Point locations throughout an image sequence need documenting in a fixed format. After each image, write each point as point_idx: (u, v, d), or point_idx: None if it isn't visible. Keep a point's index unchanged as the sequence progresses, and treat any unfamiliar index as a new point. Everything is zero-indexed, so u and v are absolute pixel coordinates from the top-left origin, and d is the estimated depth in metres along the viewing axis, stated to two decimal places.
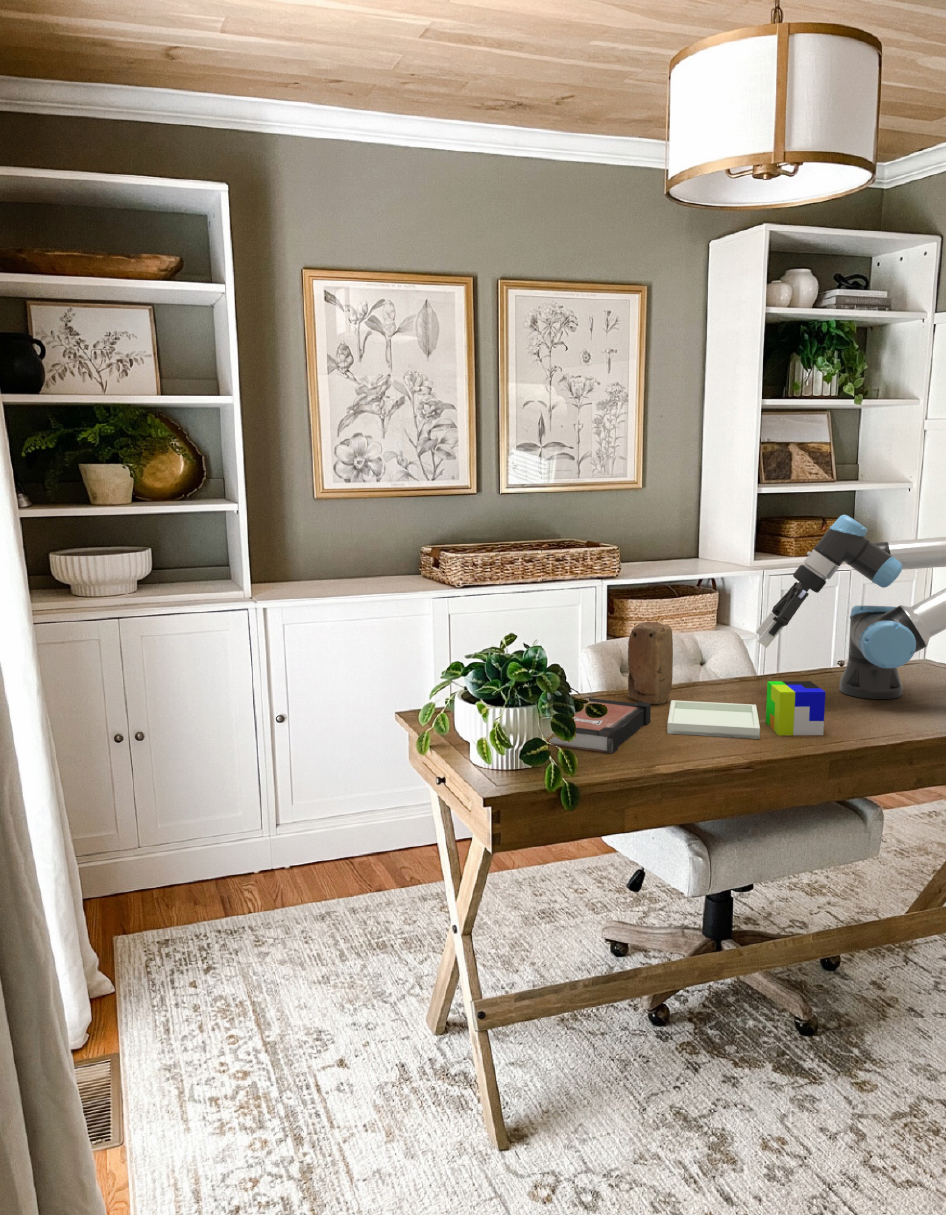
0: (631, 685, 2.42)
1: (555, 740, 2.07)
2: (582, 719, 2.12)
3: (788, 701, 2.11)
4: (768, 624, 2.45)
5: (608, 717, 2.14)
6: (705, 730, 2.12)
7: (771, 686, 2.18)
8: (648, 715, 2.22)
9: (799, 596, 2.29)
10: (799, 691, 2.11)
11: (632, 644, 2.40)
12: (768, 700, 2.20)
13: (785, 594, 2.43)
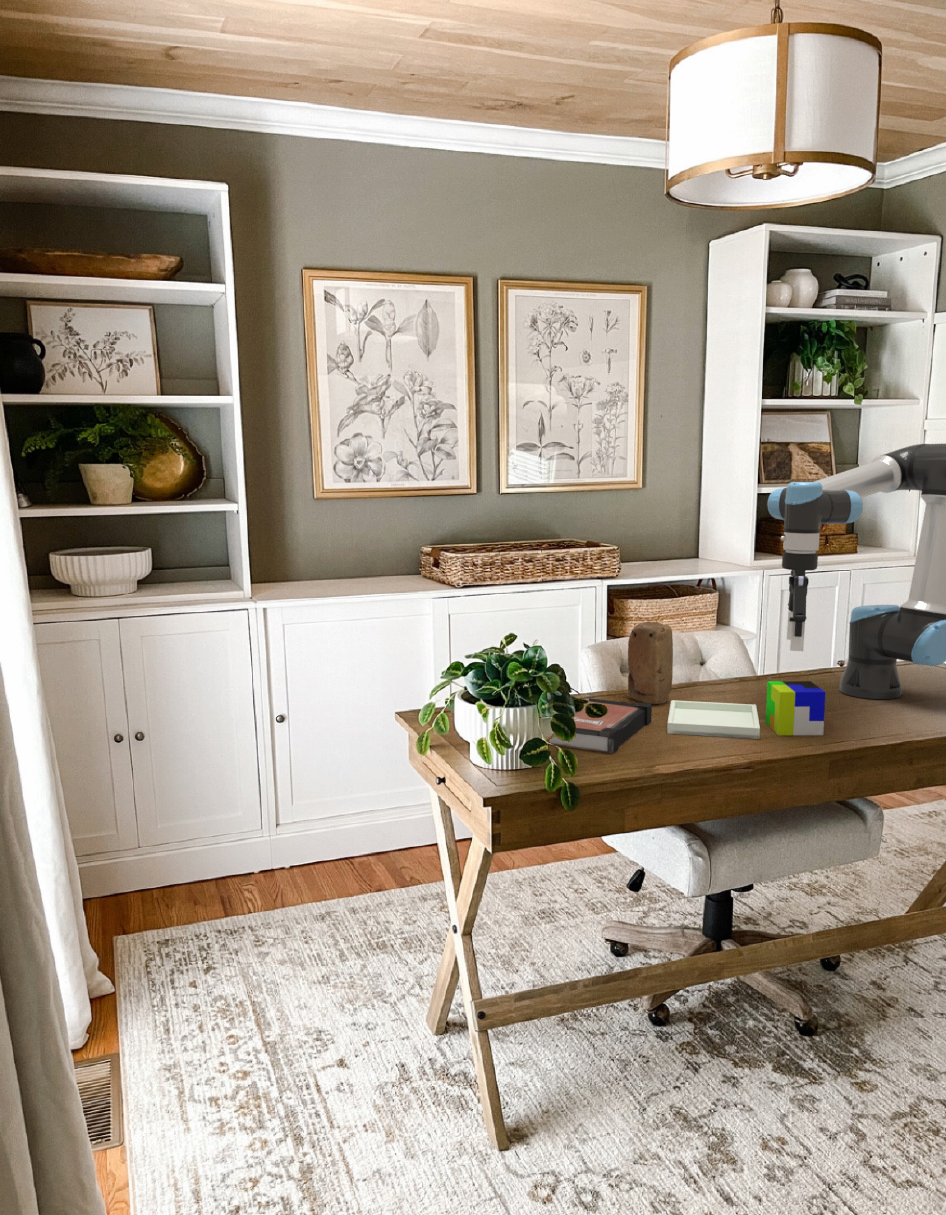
0: (631, 685, 2.42)
1: (555, 741, 2.07)
2: (582, 719, 2.12)
3: (788, 701, 2.11)
4: None
5: (609, 717, 2.14)
6: (705, 730, 2.12)
7: (771, 686, 2.18)
8: (649, 716, 2.22)
9: (799, 584, 2.06)
10: (799, 691, 2.11)
11: (632, 644, 2.40)
12: (768, 700, 2.20)
13: None
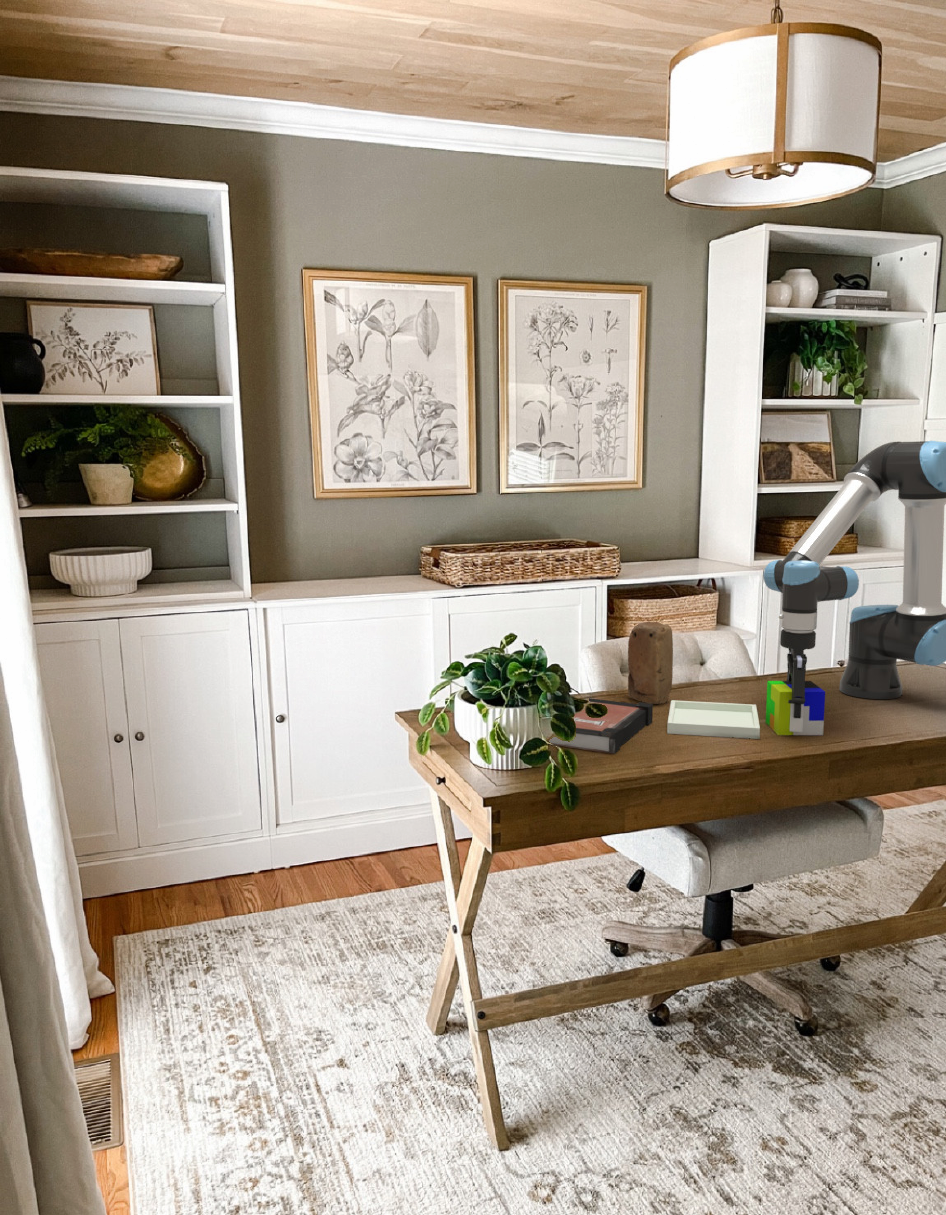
0: (631, 685, 2.42)
1: (557, 741, 2.07)
2: (583, 719, 2.12)
3: (787, 701, 2.11)
4: None
5: (610, 717, 2.13)
6: (705, 730, 2.12)
7: (771, 686, 2.18)
8: (650, 716, 2.22)
9: (798, 666, 2.08)
10: None
11: (632, 644, 2.40)
12: (768, 700, 2.20)
13: None
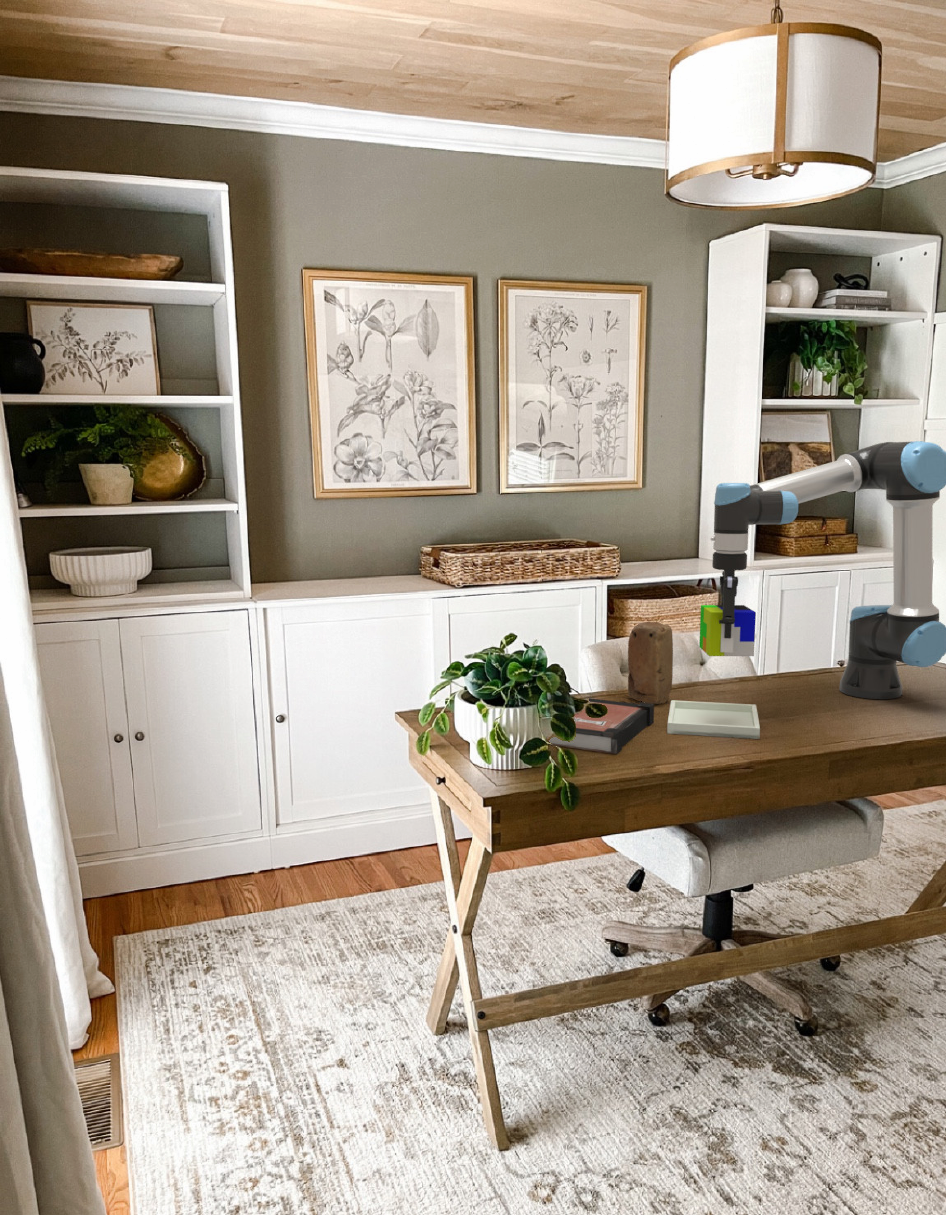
0: (631, 685, 2.42)
1: (558, 741, 2.07)
2: (585, 719, 2.12)
3: (718, 621, 2.12)
4: None
5: (612, 717, 2.13)
6: (705, 730, 2.12)
7: (704, 609, 2.18)
8: (651, 716, 2.22)
9: (728, 586, 2.09)
10: None
11: (632, 644, 2.40)
12: (701, 624, 2.20)
13: None
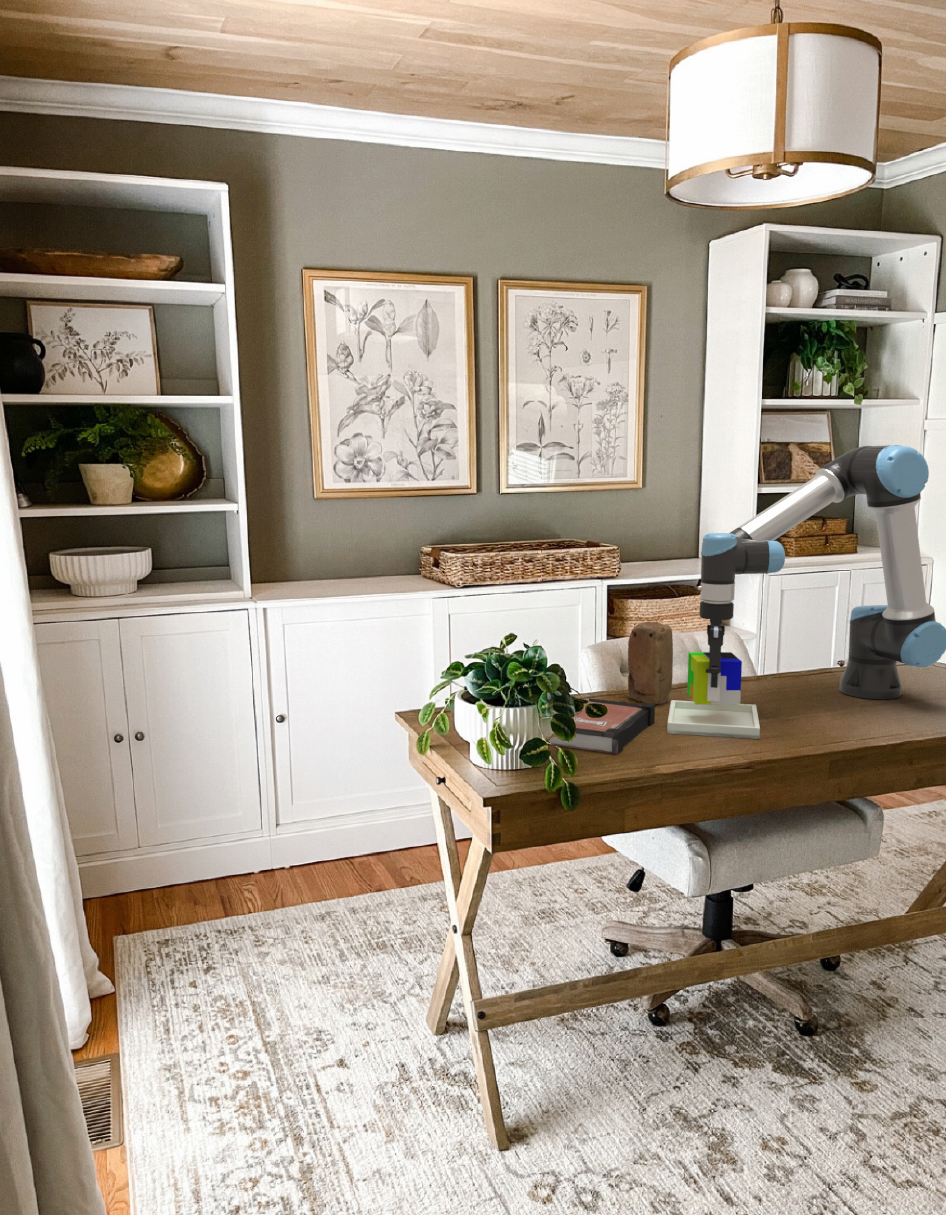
0: (631, 685, 2.42)
1: (559, 741, 2.07)
2: (586, 719, 2.12)
3: (705, 670, 2.15)
4: None
5: (613, 717, 2.13)
6: (705, 730, 2.12)
7: (691, 656, 2.21)
8: (652, 716, 2.22)
9: (715, 636, 2.12)
10: None
11: (632, 644, 2.40)
12: (689, 671, 2.23)
13: None
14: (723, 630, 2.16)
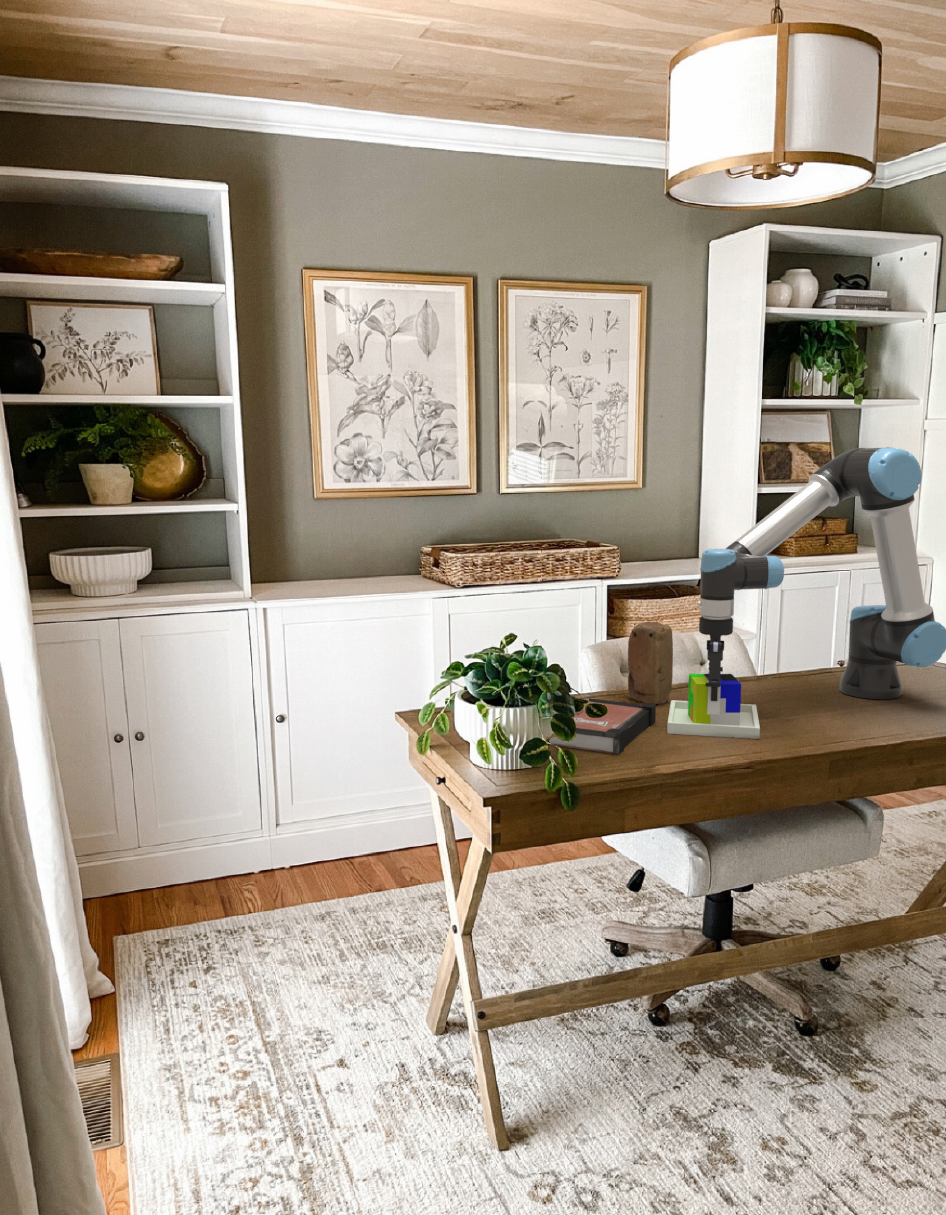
0: (631, 685, 2.42)
1: (560, 742, 2.07)
2: (587, 720, 2.12)
3: (704, 693, 2.15)
4: None
5: (614, 718, 2.13)
6: (705, 730, 2.12)
7: (691, 678, 2.22)
8: (653, 716, 2.21)
9: (714, 650, 2.12)
10: None
11: (632, 644, 2.40)
12: (689, 692, 2.24)
13: None
14: (723, 645, 2.16)
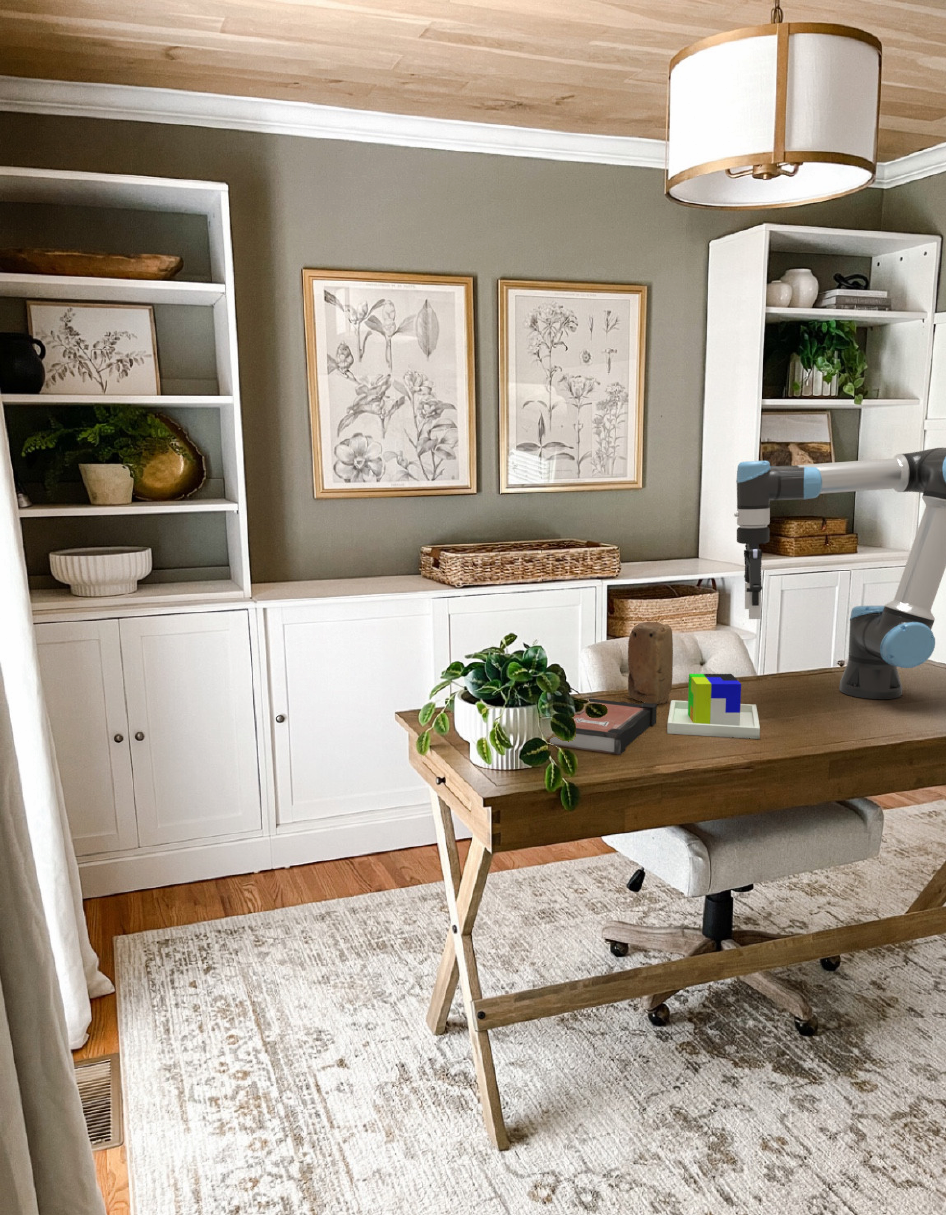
0: (631, 685, 2.42)
1: (561, 742, 2.06)
2: (588, 720, 2.11)
3: (704, 693, 2.15)
4: None
5: (615, 718, 2.13)
6: (705, 730, 2.12)
7: (691, 678, 2.22)
8: (654, 716, 2.21)
9: (754, 557, 2.21)
10: (715, 683, 2.16)
11: (632, 644, 2.40)
12: (689, 692, 2.24)
13: None
14: (760, 553, 2.25)
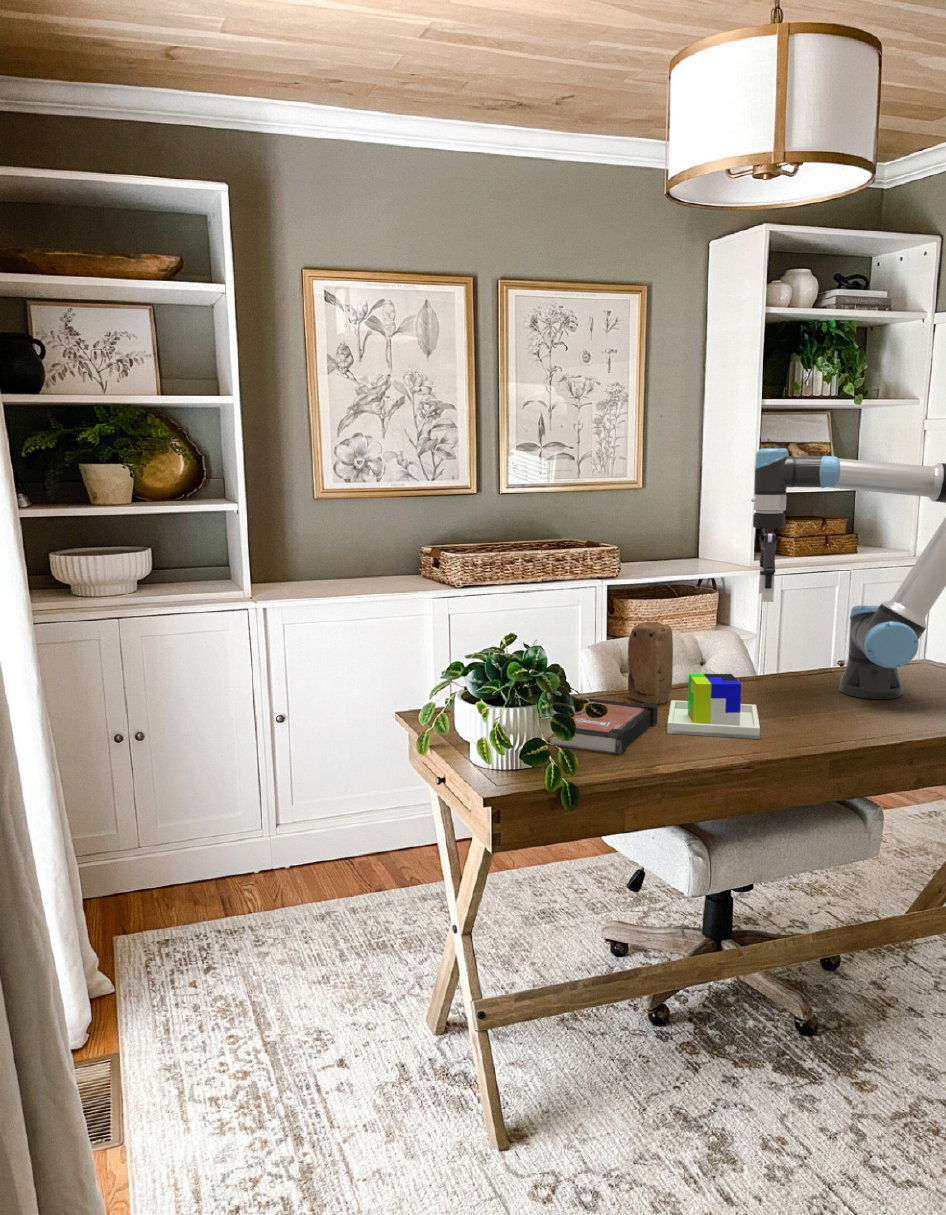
0: (631, 685, 2.42)
1: (562, 742, 2.06)
2: (589, 720, 2.11)
3: (704, 693, 2.15)
4: None
5: (616, 718, 2.13)
6: (705, 730, 2.12)
7: (691, 678, 2.22)
8: (655, 716, 2.21)
9: (769, 541, 2.27)
10: (715, 683, 2.16)
11: (632, 644, 2.40)
12: (689, 692, 2.24)
13: None
14: (775, 538, 2.32)
